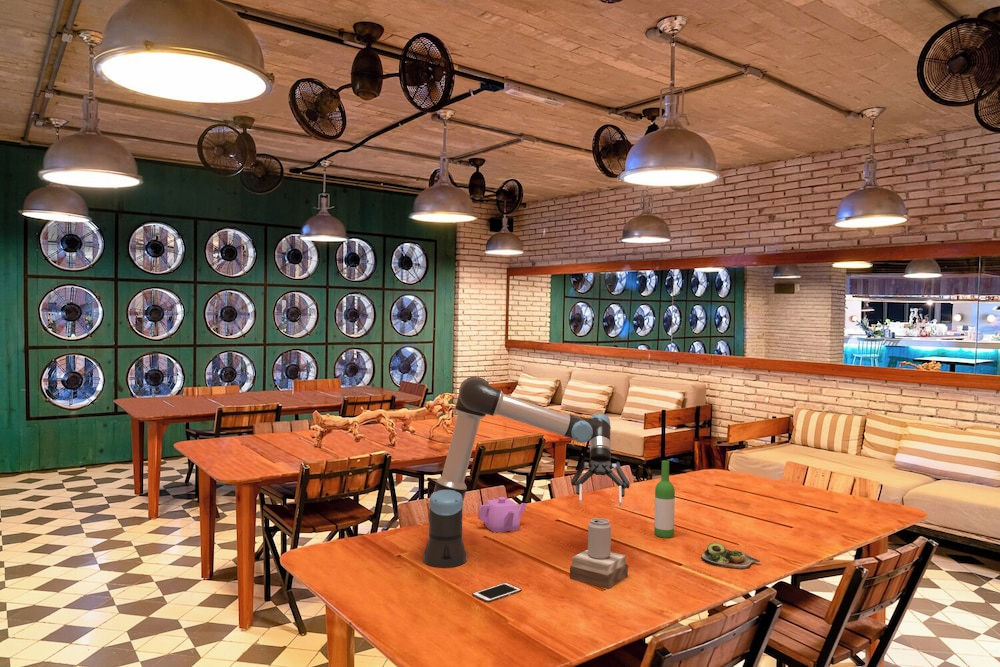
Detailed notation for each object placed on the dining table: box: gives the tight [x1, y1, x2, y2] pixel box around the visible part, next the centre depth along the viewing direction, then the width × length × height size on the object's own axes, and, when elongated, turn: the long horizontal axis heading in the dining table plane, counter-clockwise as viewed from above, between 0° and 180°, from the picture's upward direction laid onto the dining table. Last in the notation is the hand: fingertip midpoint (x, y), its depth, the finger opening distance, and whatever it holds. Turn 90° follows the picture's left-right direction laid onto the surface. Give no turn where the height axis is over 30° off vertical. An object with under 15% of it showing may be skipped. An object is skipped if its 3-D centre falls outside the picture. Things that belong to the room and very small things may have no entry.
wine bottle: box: [653, 459, 676, 539], centre depth 272 cm, size 8×8×30 cm
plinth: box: [569, 549, 629, 590], centre depth 224 cm, size 14×14×7 cm
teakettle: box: [477, 496, 528, 533], centre depth 279 cm, size 17×17×12 cm
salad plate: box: [700, 541, 761, 569], centre depth 243 cm, size 19×18×5 cm
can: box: [587, 517, 612, 559], centre depth 224 cm, size 8×8×12 cm
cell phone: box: [471, 582, 523, 604], centre depth 209 cm, size 8×15×1 cm, turn 132°
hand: (600, 503), depth 233 cm, fingers open, 13 cm apart
